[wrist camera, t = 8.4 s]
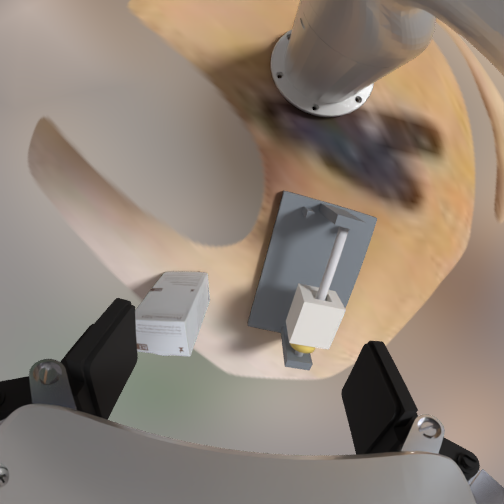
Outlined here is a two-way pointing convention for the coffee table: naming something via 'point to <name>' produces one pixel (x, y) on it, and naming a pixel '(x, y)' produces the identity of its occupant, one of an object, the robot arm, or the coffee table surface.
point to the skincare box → (172, 313)
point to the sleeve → (314, 317)
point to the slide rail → (308, 263)
